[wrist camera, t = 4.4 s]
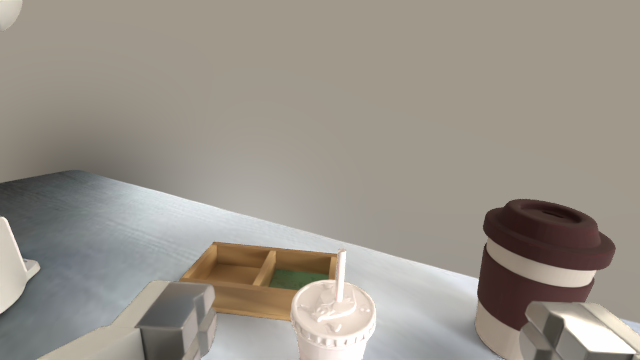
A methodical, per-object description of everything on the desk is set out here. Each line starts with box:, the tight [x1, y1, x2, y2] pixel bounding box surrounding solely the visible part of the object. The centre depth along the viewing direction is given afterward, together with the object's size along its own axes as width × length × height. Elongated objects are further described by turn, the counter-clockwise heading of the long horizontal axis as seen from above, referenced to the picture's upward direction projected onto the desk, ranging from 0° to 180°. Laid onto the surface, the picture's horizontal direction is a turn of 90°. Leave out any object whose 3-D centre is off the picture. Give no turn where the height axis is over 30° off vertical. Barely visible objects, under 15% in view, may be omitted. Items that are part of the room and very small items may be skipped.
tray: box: [178, 242, 338, 321], centre depth 38 cm, size 9×17×4 cm, turn 84°
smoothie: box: [290, 249, 376, 360], centre depth 23 cm, size 6×6×14 cm
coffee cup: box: [475, 199, 616, 360], centre depth 30 cm, size 10×10×15 cm
